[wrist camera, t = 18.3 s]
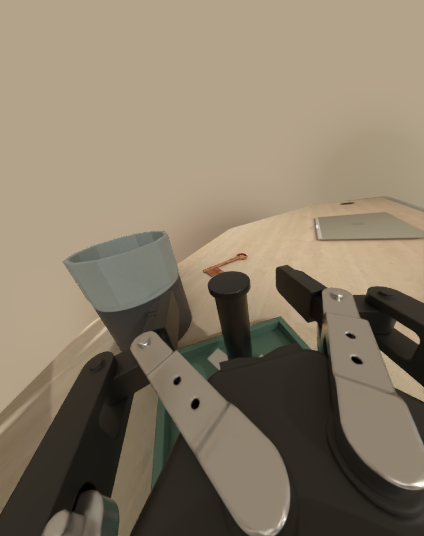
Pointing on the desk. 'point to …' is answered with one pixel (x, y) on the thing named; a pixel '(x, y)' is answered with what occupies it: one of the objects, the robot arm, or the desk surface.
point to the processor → (129, 282)
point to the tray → (263, 342)
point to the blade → (232, 315)
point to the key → (215, 268)
